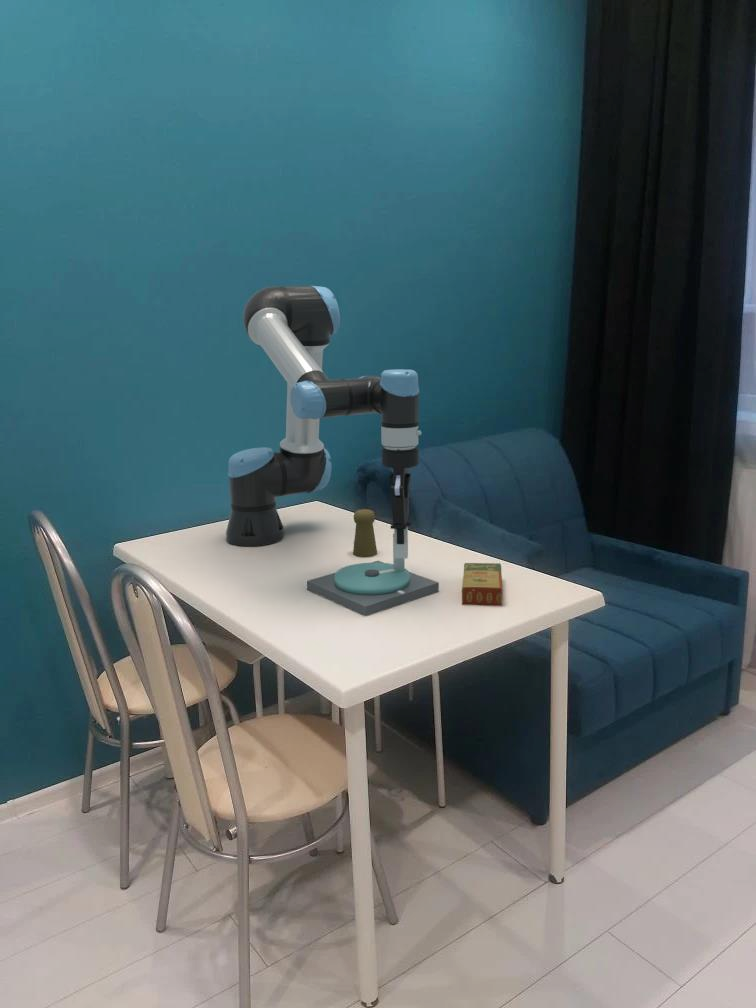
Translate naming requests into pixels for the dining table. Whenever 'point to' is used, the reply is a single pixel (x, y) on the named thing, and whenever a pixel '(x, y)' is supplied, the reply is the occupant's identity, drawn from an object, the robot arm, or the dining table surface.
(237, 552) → the dining table surface
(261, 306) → the robot arm
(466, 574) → the carton
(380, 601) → the base plate
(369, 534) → the cork
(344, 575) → the dial
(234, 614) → the dining table surface
